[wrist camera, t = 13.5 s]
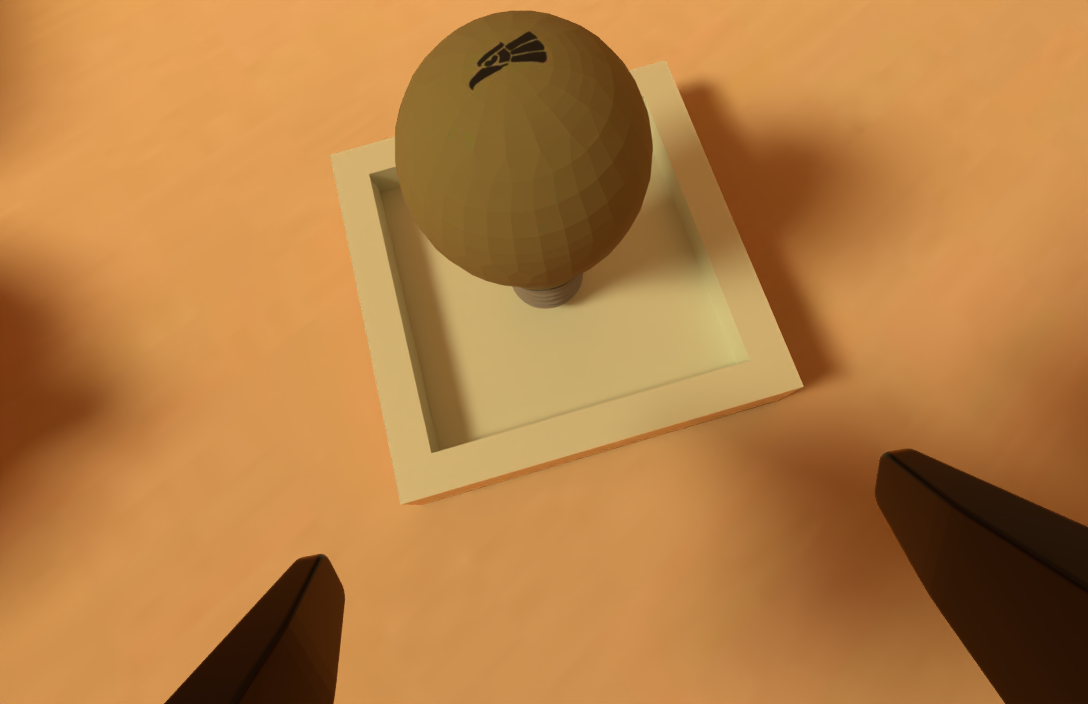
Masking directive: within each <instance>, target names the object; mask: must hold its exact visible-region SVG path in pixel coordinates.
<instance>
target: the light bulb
mask: <svg viewBox="0 0 1088 704" xmlns="http://www.w3.org/2000/svg"><path fill="white" fill-rule="evenodd" d="M652 155H653V141H652V134H651V127H650V120H649V115H648V111H647V108H646V106H645V103H644V101H643V98H642V95H641V93H640V90H639V88H638V86H637V84H636V81H635V79H634V78H633V76H632V75H631V73H630V72H629V70H628V69H627V67H626V66H625V64H624V63H623V61H622V60H621V59H620V58H619V57H618V56H617V55H616V54H615V53H614V52H613V51H612V50H611V49H610V48H609V47H608V46H607V45H606V44H605V43H604V42H603V41H602V40H601V39H600V38H599V37H598V36H596V35H595V34H593V33H591V32H590V31H588V30H587V29H585V28H583V27H582V26H580V25H578V24H575V23H573V22H570V21H568V20H565V19H563V18H560V17H557V16H554V15H551V14H547V13H541V12H535V11H507V12H501V13H495V14H491V15H488V16H485V17H482V18H479V19H476V20H474V21H472V22H470V23H468V24H466V25H464V26H462V27H460V28H458V29H457V30H455V31H454V32H453V33H451V34H450V35H449V36H447V37H446V38H445V39H443V40H442V41H441V42H440V43H439V44H438V45H437V46H436V47H435V48H434V49H433V50H432V51H431V52H430V53H429V54H428V55H427V56H426V57H425V59H424V60H423V62H422V63H421V64H420V66H419V67H418V69H417V70H416V71H415V73H414V74H413V77H412V79H411V81H410V83H409V86H408V88H407V90H406V92H405V95H404V97H403V100H402V103H401V105H400V109H399V114H398V118H397V123H396V127H395V164H396V170H397V175H398V179H399V183H400V188H401V192H402V195H403V198H404V200H405V202H406V204H407V206H408V208H409V210H410V212H411V214H412V216H413V219H414V220H415V222H416V224H417V226H418V227H419V228H420V230H421V231H422V232H423V233H424V235H425V236H426V237H427V238H428V240H429V241H430V242H431V243H432V245H433V246H434V247H435V248H436V250H437V251H439V252H440V253H441V254H442V255H443V256H445V257H446V258H447V259H448V260H449V261H451V262H452V263H454V264H456V265H457V266H459V267H460V268H462V269H463V270H465V271H467V272H468V273H470V274H471V275H473V276H476V277H478V278H481V279H483V280H485V281H488V282H492V283H496V284H499V285H503V286H512V287H513V289H514V291H515V293H516V294H517V296H518V297H519V298H520V299H521V300H522V301H524V302H525V303H526V304H528V305H530V306H532V307H535V308H542V309H547V308H555V307H558V306H561V305H563V304H565V303H566V302H568V301H569V300H570V299H572V298H573V297H574V295H575V294H576V293H577V292H578V290H579V288H580V286H581V283H582V279H583V273H584V272H586V271H587V270H589V269H591V268H592V267H594V266H595V265H596V264H598V263H599V262H600V261H602V260H603V259H604V258H605V257H607V256H608V255H609V254H610V253H611V252H612V251H613V250H614V249H615V248H616V246H617V245H618V244H619V243H620V242H621V241H622V239H623V238H624V236H625V235H626V234H627V232H628V231H629V229H630V228H631V226H632V224H633V223H634V221H635V219H636V217H637V216H638V214H639V212H640V210H641V207H642V204H643V201H644V198H645V195H646V192H647V188H648V185H649V182H650V177H651V166H652Z"/></svg>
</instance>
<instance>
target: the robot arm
mask: <svg viewBox="0 0 1088 704" xmlns="http://www.w3.org/2000/svg"><path fill="white" fill-rule="evenodd" d="M875 497H876V501H877V503H878V506H879V508H880V509H881V511H882V513H883V515H884V517H885V518H886V520H887V522H888V524H889V525H890V527H891V529H892V531H893V533H894V534H895V536H896V538H897V540H898V541H899V543H900V545H901V547H902V549H903V550H904V552H905V554H906V556H907V557H908V559H909V561H910V563H911V565H912V566H913V568H914V570H915V572H916V573H917V575H918V577H919V579H920V580H921V582H922V584H923V585H924V587H925V589H926V590H927V592H928V594H929V595H930V597H931V598H932V600H933V601H934V603H935V604H936V606H937V607H938V609H939V610H940V612H941V613H942V614H943V616H944V617H945V619H946V620H947V621H948V623H949V624H950V626H951V627H952V629H953V630H954V631H955V633H956V634H957V636H958V637H959V639H960V640H961V641H962V643H963V644H964V646H965V647H966V649H967V650H968V651H969V653H970V654H971V656H972V657H973V659H974V660H975V661H976V663H977V664H978V666H979V667H980V668H981V670H982V671H983V673H984V674H985V676H986V677H987V678H988V680H989V681H990V683H991V684H992V686H993V687H994V688H995V690H996V691H997V693H998V694H999V696H1000V697H1001V698H1002V700H1003V701H1004V703H1005V704H1088V527H1087V526H1084V525H1082V524H1080V523H1078V522H1075V521H1073V520H1071V519H1069V518H1066V517H1064V516H1062V515H1060V514H1057V513H1055V512H1053V511H1051V510H1048V509H1046V508H1044V507H1042V506H1039V505H1037V504H1035V503H1033V502H1030V501H1028V500H1026V499H1024V498H1021V497H1019V496H1017V495H1015V494H1012V493H1010V492H1008V491H1006V490H1003V489H1001V488H999V487H997V486H994V485H992V484H990V483H988V482H985V481H983V480H981V479H979V478H976V477H974V476H972V475H970V474H967V473H965V472H963V471H961V470H958V469H956V468H954V467H952V466H949V465H947V464H945V463H943V462H940V461H938V460H936V459H934V458H931V457H929V456H927V455H925V454H922V453H920V452H918V451H916V450H913V449H901V450H895V451H890V452H886V453H884V454H883V455H882V456H881V457H880V461H879V467H878V474H877V480H876V486H875ZM344 604H345V594H344V589H343V586H342V584H341V582H340V580H339V578H338V576H337V574H336V572H335V570H334V568H333V566H332V564H331V562H330V560H329V559H328V557H327V556H325V555H324V554H318V555H312V556H307V557H302V558H299V559H298V560H296V561H295V562H294V563H293V564H292V565H291V566H290V567H289V569H288V570H287V571H286V572H285V573H284V574H283V575H282V576H281V577H280V578H279V579H278V580H277V582H276V583H275V584H274V585H273V586H272V587H271V588H270V589H269V590H268V591H267V592H266V594H265V595H264V596H263V597H262V598H261V599H260V600H259V601H258V602H257V603H256V604H255V605H254V607H253V608H252V609H251V610H250V611H249V612H248V613H247V614H246V615H245V616H244V617H243V619H242V620H241V621H240V622H239V623H238V624H237V625H236V626H235V627H234V628H233V629H232V630H231V632H230V633H229V634H228V635H227V636H226V637H225V638H224V639H223V640H222V641H221V642H220V644H219V645H218V646H217V647H216V648H215V649H214V650H213V651H212V652H211V653H210V654H209V655H208V657H207V658H206V659H205V660H204V661H203V662H202V663H201V664H200V665H199V666H198V667H197V669H196V670H195V671H194V672H193V673H192V674H191V675H190V676H189V677H188V678H187V679H186V680H185V682H184V683H183V684H182V685H181V686H180V687H179V688H178V689H177V690H176V691H175V692H174V694H173V695H172V696H171V697H170V698H169V699H168V700H167V701H166V702H165V703H164V704H333V703H334V697H335V690H336V682H337V672H338V662H339V653H340V643H341V633H342V623H343V614H344Z"/></svg>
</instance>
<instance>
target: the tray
mask: <svg viewBox="0 0 1088 704" xmlns="http://www.w3.org/2000/svg"><path fill="white" fill-rule="evenodd" d="M629 72H630V73H631V75H632V76H633V78H634V79H635V81H636V84H637V86H638V88H639V90H640V93H641V95H642V98H643V101H644V103H645V106H646V108H647V111H648V115H649V120H650V127H651V134H652V141H653V155H652V166H651V177H650V182H649V185H648V188H647V192H646V195H645V198H644V201H643V204H642V207H641V210H640V212H639V214H638V216H637V217H636V219H635V221H634V223H633V224H632V226H631V228H630V229H629V231H628V232H627V234H626V235H625V236H624V238H623V239H622V241H621V242H620V243H619V244H618V245H617V246H616V248H615V249H614V250H613V251H612V252H611V253H610V254H609V255H608V256H607V257H605V258H604V259H603V260H602V261H600V262H599V263H598V264H596V265H595V266H594V267H592V268H591V269H589V270H587V271H586V272H584V273H583V279H582V283H581V286H580V288H579V290H578V292H577V293H576V294H575V295H574V297H573V298H572V299H570V300H569V301H568V302H566V303H565V304H563V305H561V306H558V307H555V308H547V309H542V308H535V307H532V306H530V305H528V304H526V303H525V302H524V301H522V300H521V299H520V298H519V297H518V296H517V294H516V293H515V291H514V289H513V287H512V286H503V285H499V284H496V283H492V282H488V281H485V280H483V279H481V278H478V277H476V276H473V275H471V274H470V273H468V272H467V271H465V270H463V269H462V268H460V267H459V266H457V265H456V264H454V263H452V262H451V261H449V260H448V259H447V258H446V257H445V256H443V255H442V254H441V253H440V252H439V251H437V250H436V248H435V247H434V246H433V245H432V243H431V242H430V241H429V240H428V238H427V237H426V236H425V235H424V233H423V232H422V231H421V230H420V228H419V227H418V226H417V224H416V222H415V220H414V219H413V216H412V214H411V212H410V210H409V208H408V206H407V204H406V202H405V200H404V198H403V195H402V192H401V188H400V183H399V179H398V175H397V170H396V164H395V137H391V138H388V139H384V140H381V141H377V142H374V143H370V144H367V145H363V146H360V147H356V148H353V149H349V150H346V151H342V152H338V153H335V154H331V155H330V157H331V162H332V167H333V172H334V177H335V182H336V187H337V192H338V197H339V202H340V207H341V212H342V217H343V222H344V227H345V232H346V236H347V241H348V246H349V251H350V256H351V261H352V266H353V271H354V276H355V281H356V286H357V291H358V296H359V301H360V306H361V311H362V315H363V320H364V325H365V330H366V335H367V340H368V345H369V350H370V355H371V360H372V365H373V370H374V375H375V380H376V385H377V390H378V395H379V399H380V404H381V409H382V414H383V419H384V424H385V429H386V434H387V439H388V444H389V449H390V454H391V459H392V464H393V469H394V474H395V478H396V483H397V488H398V493H399V498H400V503H401V505H423V504H426V503H429V502H433V501H436V500H440V499H443V498H446V497H450V496H453V495H457V494H460V493H464V492H467V491H470V490H474V489H477V488H481V487H484V486H487V485H491V484H494V483H498V482H501V481H505V480H508V479H511V478H515V477H518V476H522V475H525V474H528V473H532V472H535V471H539V470H542V469H546V468H549V467H552V466H556V465H559V464H563V463H566V462H569V461H573V460H576V459H580V458H583V457H586V456H590V455H593V454H597V453H600V452H604V451H607V450H610V449H614V448H617V447H621V446H624V445H627V444H631V443H634V442H638V441H641V440H645V439H648V438H651V437H655V436H658V435H662V434H665V433H668V432H672V431H675V430H679V429H682V428H686V427H689V426H692V425H696V424H699V423H703V422H706V421H709V420H713V419H716V418H720V417H723V416H727V415H730V414H733V413H737V412H740V411H744V410H747V409H750V408H754V407H757V406H761V405H764V404H768V403H771V402H774V401H778V400H780V399H782V398H784V397H786V396H788V395H789V394H791V393H793V392H795V391H797V390H799V389H801V388H802V387H804V386H803V383H802V381H801V379H800V376H799V374H798V372H797V369H796V367H795V364H794V362H793V360H792V357H791V355H790V353H789V350H788V348H787V346H786V343H785V341H784V338H783V336H782V334H781V331H780V329H779V327H778V324H777V322H776V320H775V317H774V315H773V312H772V310H771V308H770V305H769V303H768V301H767V298H766V296H765V294H764V291H763V289H762V286H761V284H760V282H759V279H758V277H757V275H756V272H755V270H754V268H753V265H752V263H751V260H750V258H749V256H748V253H747V251H746V249H745V246H744V244H743V241H742V239H741V237H740V234H739V232H738V230H737V227H736V225H735V223H734V220H733V218H732V215H731V213H730V211H729V208H728V206H727V204H726V201H725V199H724V197H723V194H722V192H721V189H720V187H719V185H718V182H717V180H716V178H715V175H714V173H713V171H712V168H711V166H710V163H709V161H708V159H707V156H706V154H705V152H704V149H703V147H702V145H701V142H700V140H699V137H698V135H697V133H696V130H695V128H694V126H693V123H692V121H691V119H690V116H689V114H688V111H687V109H686V107H685V104H684V102H683V100H682V97H681V95H680V93H679V90H678V88H677V85H676V83H675V81H674V78H673V76H672V74H671V71H670V69H669V66H668V64H667V62H666V60H664V61H660V62H657V63H653V64H650V65H646V66H643V67H639V68H635V69H632V70H629Z"/></svg>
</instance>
